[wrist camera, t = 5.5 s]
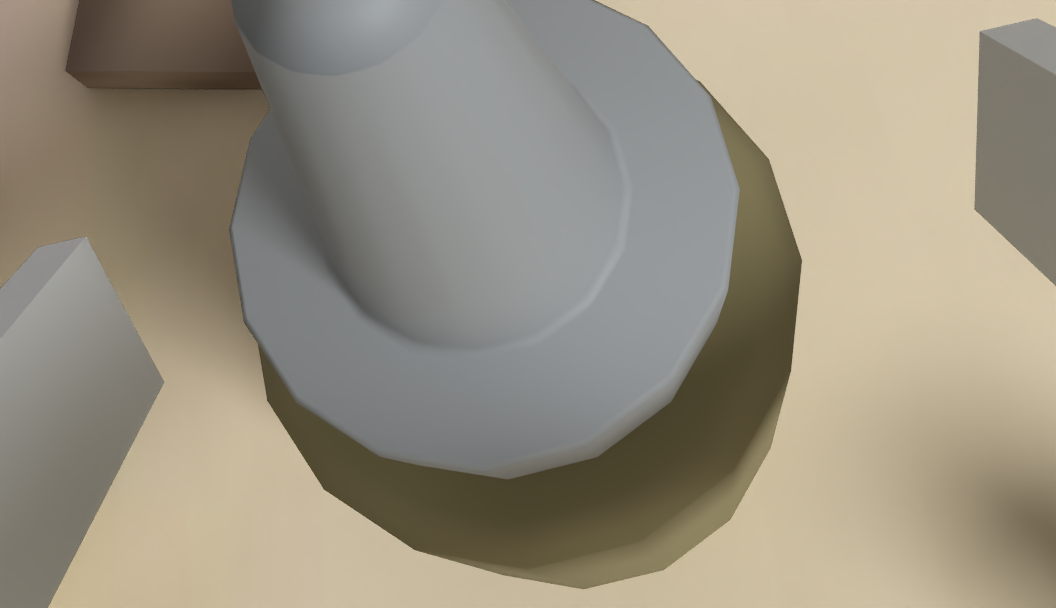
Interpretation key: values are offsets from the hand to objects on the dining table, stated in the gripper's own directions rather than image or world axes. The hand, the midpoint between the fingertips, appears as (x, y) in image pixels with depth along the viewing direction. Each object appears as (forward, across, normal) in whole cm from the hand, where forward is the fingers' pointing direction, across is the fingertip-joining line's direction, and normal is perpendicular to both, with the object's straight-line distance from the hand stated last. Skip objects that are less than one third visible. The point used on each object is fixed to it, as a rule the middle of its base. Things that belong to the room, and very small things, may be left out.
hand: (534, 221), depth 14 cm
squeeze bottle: (+6, 0, -8) cm, 9 cm away
